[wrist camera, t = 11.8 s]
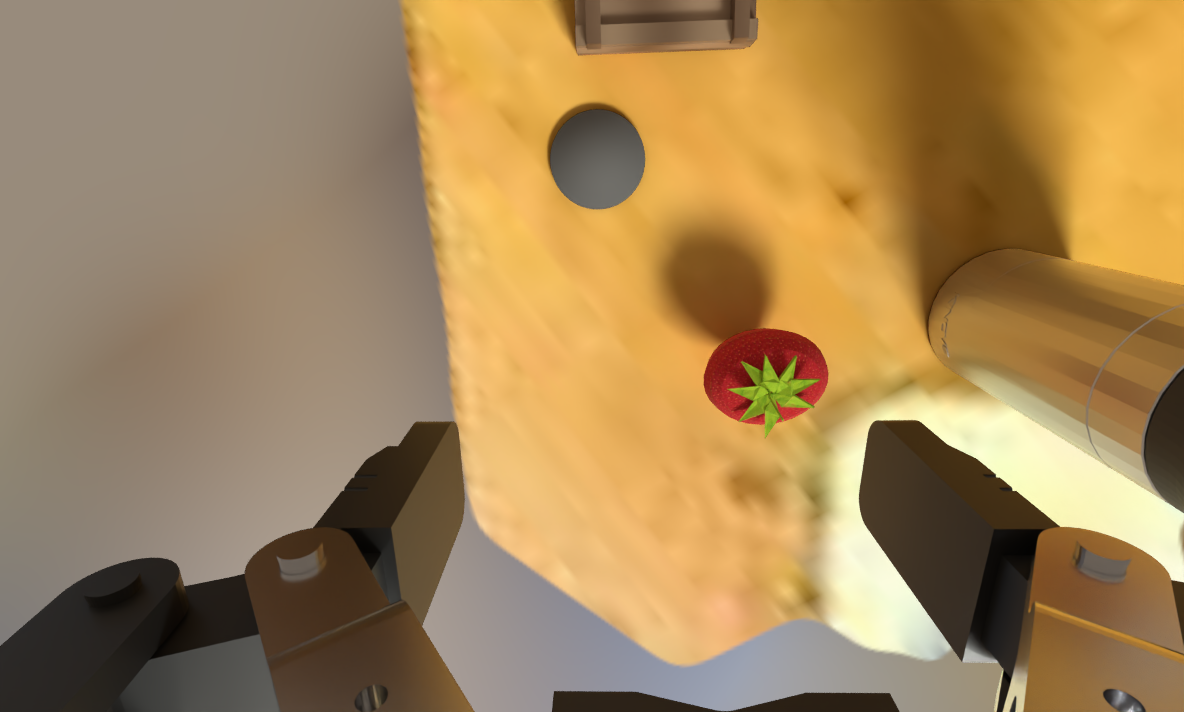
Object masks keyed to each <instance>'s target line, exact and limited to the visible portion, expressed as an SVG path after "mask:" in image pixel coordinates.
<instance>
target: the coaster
mask: <svg viewBox="0 0 1184 712" xmlns="http://www.w3.org/2000/svg"><path fill="white" fill-rule="evenodd" d="M550 164H551V171H552V175H553V177H554V180H555V182H556V184H557V186H558V188H559V189H560V190H561V192H562V193H563V194H564V195H565V196H566V197H567V198H568V199H569V200H571V201H572V202H574V203H575V204H577V205H580V206H582V207H585V208H590V209H606V208H610V207H613V206H616V205H618V204H619V203H621V202H623V201H624V200H626V199H627V198H628V197H629V196H630V195H631V194H632V193H633V192H634V191H635V189H636V188H637V186H638V185H639V183H640V180H641V178H642V175H643V172H644V167H645V152H644V146H643V143H642V140H641V138H640V136H639V134H638V132H637V131H636V129H635V128H634V127H633V125H632V124H631V123H630V122H629V121H627V120H626V119H625V118H624V117H622V116H621V115H618V114H616V113H614V112H611V111H607V110H599V109H595V110H588V111H584V112H582V113H579V114H577V115H575V116H574V117H572V118H571V119H569V120H568V121H567V122H566V123H565V124H564V125H563V126H562V127H561V129H560V130H559V131H558V133H557V135H556V137H555V139H554V141H553V144H552V148H551V155H550Z"/></svg>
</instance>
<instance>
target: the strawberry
mask: <svg viewBox="0 0 1184 712" xmlns="http://www.w3.org/2000/svg"><path fill="white" fill-rule="evenodd" d="M827 383H828V369H827V365H826V362H825V359H824V357H823V355H822V353H821V351H820V350H819V348H818V347H817V346H816V345H815V344H814V343H813V342H811V341H810V340H809V339H807V338H805V337H803V336H801V335H799V334H796V333H792V332H788V331H784V330H777V329H766V328H764V329H753V330H749V331H744V332H742V333H739V334H736V335H734V336H732V337H731V338H729V339H727V340H726V341H724V342H723V343H722V344H720V345H719V346H718V347H717V349H716V350H715V351H714V352H713V354H712V355H711V357H710V359H709V361H708V364H707V367H706V370H705V374H704V388H705V392H706V394H707V396H708V398H709V400H710V401H711V402H712V403H713V404H714V405H715V406H716V407H717V408H718V409H719V410H720V411H722V412H723V413H724V414H726V415H727V416H729V417H730V418H733V419H735V420H737V421H739V422H744V423H749V424H760V425H761V424H765V438H766V436H767V435H768V433H769V432H770V430H771V429H772V428H773V426H774V425H775V423H778V422H783V421H786V420H789V419H792V418H794V417H796V416H798V415H800V414H802V413H804V412H805V411H807V410H808V409H809V408H814V406H813V405H814V404H815V403H816V402H817V401H818V400H819V399H820V397H821V396H822V394H823V393H824V391H825V388H826V386H827Z"/></svg>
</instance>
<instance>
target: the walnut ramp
mask: <svg viewBox="0 0 1184 712" xmlns="http://www.w3.org/2000/svg"><path fill="white" fill-rule="evenodd" d="M575 24H576V26H575V33H576V49H577V54H578V55H598V54H624V53H649V52H675V51H700V50H726V49H744V48H746V47H750V46H751V45H752V44H753V43H754V42H755V40H756V39H757V32H758V18H756V0H575Z"/></svg>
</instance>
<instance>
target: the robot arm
mask: <svg viewBox="0 0 1184 712" xmlns="http://www.w3.org/2000/svg"><path fill="white" fill-rule="evenodd" d="M928 332H929V337H930V343H931V346H932V348H933V350H934V352H935V354H936V356H937V357H938V358H939V359H940V361H941V362H942V363H943V364H944V365H945V366H946V367H948V368H949V369H951V370H952V371H953V372H955V373H957V374H958V375H960V376H961V377H963V378H965V379H966V380H968V381H970V382H971V383H973V384H974V385H976V386H978V387H979V388H981V389H982V390H984V391H985V392H987V393H989V394H990V395H992V396H994V397H995V398H997V399H998V400H1000V401H1002V402H1003V403H1005V404H1007V405H1008V406H1010V407H1011V408H1013V409H1015V410H1016V411H1018V412H1020V413H1021V414H1023V415H1025V416H1026V417H1028V418H1029V419H1031V420H1033V421H1034V422H1036V423H1038V424H1039V425H1041V426H1043V427H1044V428H1046V429H1047V430H1049V431H1051V432H1052V433H1054V434H1056V435H1057V436H1059V437H1060V438H1062V439H1064V440H1065V441H1067V442H1069V443H1070V444H1072V445H1074V446H1075V447H1077V448H1078V449H1080V450H1082V451H1083V452H1085V453H1087V454H1088V455H1090V456H1091V457H1093V458H1095V459H1096V460H1098V461H1100V462H1101V463H1103V464H1105V465H1106V466H1108V467H1109V468H1111V469H1113V470H1115V471H1117V472H1118V473H1120V474H1121V475H1123V476H1125V477H1126V478H1128V479H1130V480H1131V481H1133V482H1134V483H1136V484H1138V485H1139V486H1141V487H1143V488H1144V489H1146V490H1148V491H1149V492H1151V493H1152V494H1154V495H1156V496H1157V497H1159V498H1161V499H1162V500H1164V501H1165V502H1167V503H1169V504H1171V505H1172V506H1174V507H1175V508H1177V509H1178V510H1180V511H1181V512H1183V513H1184V285H1180V284H1175V283H1171V282H1166V281H1162V280H1158V279H1153V278H1149V277H1144V276H1140V275H1135V274H1131V273H1126V272H1122V271H1117V270H1113V269H1108V268H1104V267H1099V266H1095V265H1090V264H1086V263H1081V262H1077V261H1073V260H1069V259H1064V258H1060V257H1055V256H1050V255H1046V254H1041V253H1037V252H1032V251H1027V250H1022V249H1001V250H997V251H992V252H988V253H986V254H983V255H981V256H979V257H976V258H974V259H972V260H971V261H969V262H968V263H966V264H965V265H963V266H962V267H960V268H959V269H958V270H957V271H956V272H955V273H954V274H953V275H952V276H950V277H949V278H948V280H947V281H946V282H945V284H944V285H943V286H942V288H941V289H940V290H939V292H938V294H937V296H936V298H935V300H934V302H933V304H932V308H931V312H930V316H929V328H928ZM464 501H465V498H464V483H463V473H462V462H461V451H460V441H459V432H458V427H457V425H456V423H455V422H415V423H414V424H413V426H412V427H411V429H410V430H409V432H408V433H407V434H406V436H405V437H404V439H403V440H402V442H401V443H400V444H399V446H387V447H386V448H384V449H383V450H381V451H379V452H378V453H376V454H375V455H373V456H371V457H370V458H368V459H367V460H366V461H365V462H364V463H363V465H362V466H361V467H360V469H359V470H358V471H357V472H356V474H355V477H354V478H352V479H351V480H350V481H349V483H348V484H347V485H346V486H345V490H344V491H342V492H341V493H340V494H339V496H338V497H337V498H336V499H335V501H334V502H333V503H332V504H331V506H330V507H329V508H328V509H327V511H326V512H325V513H324V515H323V516H322V517H321V519H320V520H319V521H318V522H317V524H316V525H315V526H314V527H313V528H310V529H304V530H300V531H296V532H293V533H290V534H287V535H285V536H282V537H280V538H278V539H276V540H274V541H272V542H270V543H269V544H267V545H265V546H264V547H263V548H261V549H260V550H259V551H258V552H257V553H255V555H253V557H252V558H251V559H250V560H249V562H248V564H247V565H246V568H245V574H242V575H238V576H234V577H229V578H224V579H219V580H214V581H209V582H204V583H199V584H194V585H189V586H184V584H183V581H182V577H181V574H180V570H179V568H178V566H177V564H176V563H174V562H173V561H171V560H168V559H163V558H144V559H143V558H142V559H136V560H131V561H127V562H123V563H119V564H116V565H113V566H110V567H107V568H105V569H102V570H100V571H98V572H95V573H93V574H91V575H89V576H87V577H85V578H83V579H82V580H80V581H78V582H76V583H75V584H73V585H72V586H71V587H69V588H67V589H66V590H65V591H63V592H62V593H61V594H60V595H59V596H57V597H56V598H55V599H54V600H53V601H52V602H51V603H49V604H48V605H47V606H46V607H45V608H44V609H42V610H41V611H40V612H39V613H38V614H37V615H35V616H34V617H33V618H32V619H31V620H30V621H28V622H27V623H26V624H25V625H24V626H23V627H22V628H20V629H19V630H18V631H17V632H16V633H15V634H14V635H12V636H11V637H10V638H9V639H8V640H7V641H5V642H4V643H3V644H2V645H1V646H0V712H474V710H473V708H472V707H471V705H470V703H469V702H468V700H467V699H466V697H465V695H464V694H463V692H462V690H461V689H460V687H459V686H458V684H457V683H456V681H455V679H454V677H453V676H452V674H451V673H450V671H449V669H448V668H447V666H446V664H445V663H444V661H443V660H442V658H441V656H440V655H439V653H438V651H437V650H436V648H435V647H434V645H433V643H432V642H431V640H430V638H429V637H428V635H427V634H426V632H425V630H424V629H423V627H422V625H423V622H424V620H425V617H426V615H427V612H428V609H429V607H430V604H431V602H432V599H433V597H434V594H435V591H436V589H437V586H438V584H439V581H440V578H441V576H442V573H443V570H444V568H445V565H446V563H447V560H448V558H449V555H450V553H451V550H452V547H453V545H454V542H455V540H456V537H457V534H458V532H459V529H460V527H461V524H462V520H463V514H464ZM859 505H860V512H861V516H862V519H863V521H864V523H865V525H866V527H867V528H868V530H869V531H870V533H871V534H872V536H873V537H874V538H875V540H876V541H877V543H878V544H879V545H880V547H881V548H882V550H883V551H884V552H885V554H886V555H887V557H888V558H889V560H890V561H891V562H892V564H893V565H894V567H895V568H896V569H897V571H898V572H899V574H900V575H901V577H902V578H903V579H904V581H905V582H906V584H907V585H908V586H909V588H910V589H911V591H912V592H913V593H914V595H915V596H916V598H917V599H918V601H919V602H920V603H921V605H922V606H923V608H924V609H925V610H926V612H927V613H928V615H929V616H930V618H931V619H932V620H933V622H934V623H935V625H936V626H937V627H938V629H939V630H940V632H941V633H942V634H943V636H944V637H945V639H946V640H947V642H948V643H949V644H950V646H951V647H952V649H953V650H954V651H955V653H956V654H957V656H958V657H959V659H960V660H961V661H962V662H974V663H975V662H978V663H981V662H982V663H987V662H988V663H999V664H1000V665H1001V667H1002V668H1003V670H1002V674H1001V678H1000V682H999V685H998V689H997V696H996V701H995V707H994V712H1184V582H1178V581H1173V580H1171V578H1170V575H1169V573H1168V572H1167V570H1166V569H1165V568H1164V567H1163V566H1162V565H1161V564H1160V563H1159V562H1158V561H1157V560H1156V559H1154V558H1153V557H1152V556H1150V555H1149V554H1147V553H1146V552H1144V551H1142V550H1141V549H1139V548H1137V547H1135V546H1133V545H1131V544H1129V543H1126V542H1124V541H1122V540H1119V539H1117V538H1114V537H1112V536H1108V535H1105V534H1102V533H1099V532H1095V531H1091V530H1086V529H1080V528H1072V527H1060V526H1059V525H1057V524H1056V523H1055V522H1054V521H1052V520H1051V519H1050V518H1049V517H1047V516H1046V515H1045V514H1044V513H1043V512H1041V511H1040V510H1039V509H1038V508H1036V507H1035V506H1034V505H1033V504H1031V503H1030V502H1029V501H1028V500H1027V499H1025V498H1024V497H1023V496H1022V495H1020V494H1019V493H1018V492H1017V491H1012V487H1011V486H1009V485H1008V484H1007V483H1006V482H1004V481H1003V480H1002V479H1001V478H996V474H995V473H993V472H992V471H991V470H990V469H988V468H987V467H986V466H985V465H984V464H982V463H981V462H980V461H979V460H977V459H976V458H974V457H972V456H970V455H968V454H966V453H964V452H961V451H959V450H957V449H955V448H953V447H951V446H949V445H947V444H946V443H945V442H944V441H942V440H941V439H940V438H939V437H938V436H936V435H935V434H934V433H933V432H932V431H931V430H929V429H928V428H927V427H926V426H925V425H923V424H922V423H921V422H919V421H917V420H890V421H874V422H873V423H872V425H871V427H870V429H869V432H868V438H867V444H866V451H865V458H864V464H863V471H862V478H861V484H860V491H859ZM552 712H899V710H898V708H897V706H896V704H895V702H894V701H893V699H892V697H891V695H890V693H804V694H799V695H795V696H791V697H787V698H783V699H779V700H775V701H771V702H767V703H763V704H758V705H755V706H750V707H746V708H742V709H738V710H734V711H716V710H712V709H708V708H703V707H699V706H695V705H690V704H686V703H682V702H677V701H673V700H669V699H664V698H660V697H656V696H652V695H647V694H643V693H639V692H585V691H584V692H583V691H577V692H576V691H573V692H572V691H567V692H566V691H554V697H553V708H552Z"/></svg>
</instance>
